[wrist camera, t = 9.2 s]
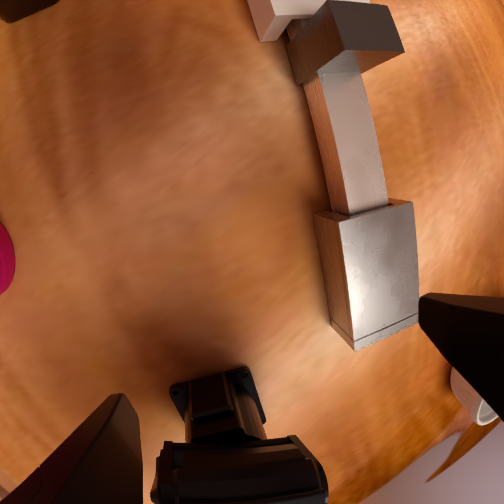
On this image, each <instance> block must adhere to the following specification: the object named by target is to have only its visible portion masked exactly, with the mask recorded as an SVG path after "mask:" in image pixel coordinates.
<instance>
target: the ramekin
mask: <svg viewBox="0 0 504 504" xmlns="http://www.w3.org/2000/svg"><path fill="white" fill-rule="evenodd" d="M450 381H451V389H452V392H453V394H454V395H455V397H456V398H457V399H458V400H459V402H460V403H461V404H462V405H463V407H464V408H465V409H466V410H467V411H468V412H469V413H470V416H471V418H472V420H473V421H474V422H476V423H477V424H478V425H485V424H488V423H490V422H492V421H493V420H494V419H496V418H497V417H498V415H497V414H496V413H495V412H494V411H493V410H492V408H491V407H490V406H489V405H488V404H487V403H486V402H485V401H484V400H483V398H482V397H481V396H480V395H479V394H478V393H477V392H476V391H475V390H474V389H473V388H472V386H471V385H470V384H469V383H468V382H467V381H466V380H465V379H464V378H463V377H462V376H461V375H460V374H459V373H458V372H457V370H456V369H455V368H454V367H453V366H452V370H451V375H450Z"/></svg>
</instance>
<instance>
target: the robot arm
mask: <svg viewBox="0 0 504 504" xmlns="http://www.w3.org/2000/svg"><path fill="white" fill-rule="evenodd" d="M418 323H419V325H420V327H421V329H422V330H423V331H424V332H425V334H426V335H427V336H428V337H429V339H430V340H431V341H432V342H433V344H434V345H435V346H436V348H437V349H438V350H439V351H440V353H441V354H442V355H443V356H444V358H445V359H446V360H447V361H448V362H449V363H450V364H451V365H452V366H453V367H454V368H455V369H456V370H457V372H458V373H459V374H460V375H461V376H462V377H463V378H464V379H465V380H466V381H467V382H468V383H469V384H470V385H471V386H472V388H473V389H474V390H475V391H476V392H477V393H478V394H479V395H480V396H481V397H482V398H483V400H484V401H485V402H486V403H487V404H488V405H489V406H490V407H491V408H492V410H493V411H494V412H495V413H496V414H497V415H498V416H499V417H500V419H501V420H502V421H503V422H504V298H503V297H487V296H472V295H457V294H444V293H427V294H425V295H423V296H421V297H420V298H419V300H418ZM243 372H247V373H246V374H244V375H243V374H242V373H243ZM174 390H176V391H178V392H173V391H174ZM169 394H170V396H171V398H172V400H173V402H174V404H175V406H176V408H177V410H178V412H179V413H180V415H181V417H182V419H183V421H184V423H185V440H186V443H173V442H172V441H164V446H163V449H161V451H160V456H159V457H157V458H156V475H155V479H154V482H153V485H152V489H151V492H150V497H151V501H152V502H153V503H154V504H327V502H328V483H327V478H326V475H325V472H324V470H323V468H322V466H321V464H320V463H319V461H318V460H317V459H316V458H315V457H314V456H313V455H312V453H311V452H310V451H309V450H308V449H307V448H306V446H305V445H304V444H303V443H302V442H301V441H300V440H299V438H298V437H297V436H296V435H289V436H287V437H284V438H275V439H267V437H266V434H265V431H264V428H263V424H264V423H265V422H266V418H265V415H264V412H263V409H262V405H261V402H260V399H259V396H258V393H257V390H256V387H255V384H254V381H253V378H252V374H251V371H250V369H249V368H248V367H240V368H237V369H233V370H230V371H226V372H223V373H217V374H213V375H210V376H206V377H202V378H198V379H194V380H191V381H188V382H184V383H180V384H175V385H172V386H170V388H169ZM261 419H262V420H261ZM0 504H143V462H142V451H141V441H140V429H139V419H138V416H137V413H136V412H135V410H134V408H133V407H132V405H131V403H130V402H129V400H128V398H127V397H126V395H125V394H123V393H118V394H112V395H110V396H108V397H107V398H106V399H105V400H104V401H103V403H102V404H101V405H100V406H99V407H98V408H97V409H96V410H95V411H94V412H93V413H92V414H91V415H90V416H89V417H88V418H87V419H86V420H85V421H84V422H83V423H82V424H81V425H80V426H79V427H78V428H77V429H76V430H75V431H74V432H73V433H72V434H71V435H70V436H69V437H68V438H67V439H66V440H65V441H64V442H63V443H62V444H61V445H60V446H59V447H58V448H57V449H56V450H55V451H54V452H53V453H52V454H51V455H50V456H49V457H48V458H47V459H46V460H45V461H44V462H43V463H42V464H41V465H40V467H37V468H36V470H35V471H34V472H33V473H32V474H31V475H30V476H28V477H27V478H26V479H25V480H24V481H23V482H22V483H21V484H20V485H19V486H18V487H17V488H15V490H13V491H12V492H11V493H10V494H9V495H7V496H6V497H5V498H4V499H2V500H1V501H0Z"/></svg>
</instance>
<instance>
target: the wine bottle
mask: <svg viewBox="0 0 504 504" xmlns="http://www.w3.org/2000/svg"><path fill="white" fill-rule="evenodd" d="M57 1H58V0H0V18H1V19H2V20H4V21H5V22H7V23H9V22H13V21H15V20H18V19H20V18H22V17H24V16H26V15H28V14H31V13H33V12H35V11H38V10H40V9H42V8H45V7H47V6H50V5H52V4H53V3H55V2H57Z"/></svg>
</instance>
